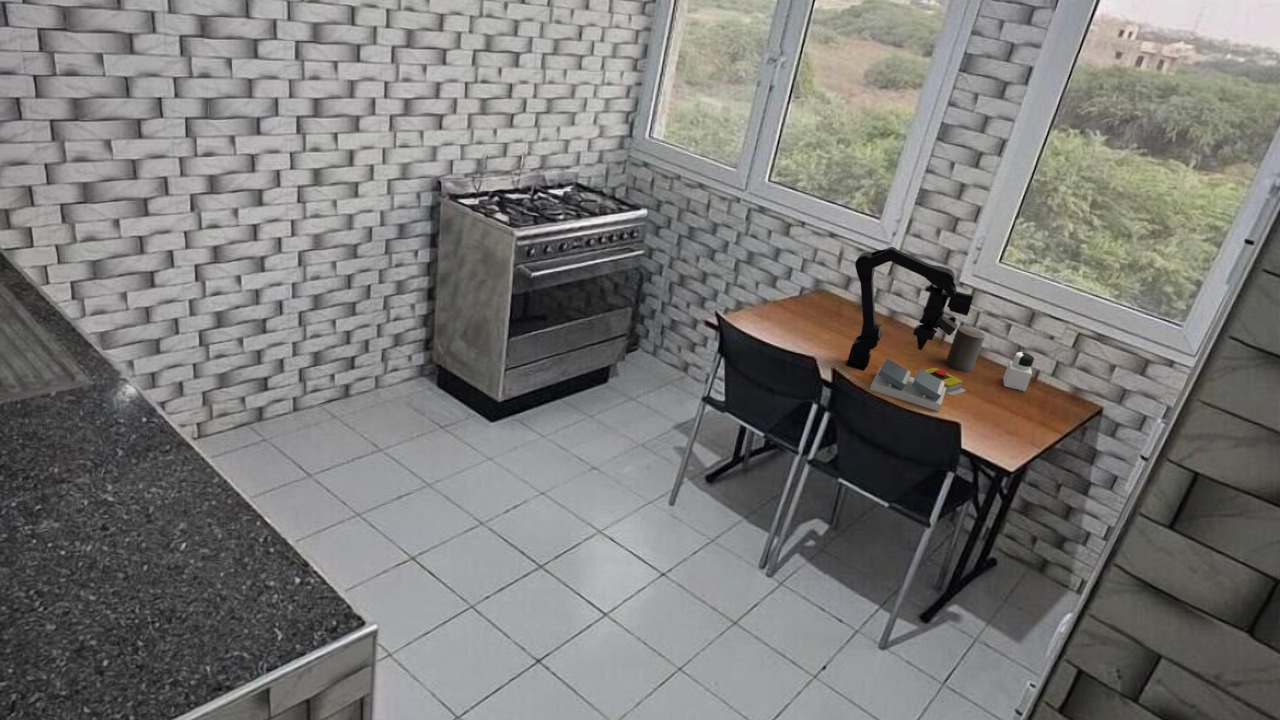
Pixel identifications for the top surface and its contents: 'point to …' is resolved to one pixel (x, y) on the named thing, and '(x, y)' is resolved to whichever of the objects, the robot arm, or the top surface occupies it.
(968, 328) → the pillar candle
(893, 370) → the block
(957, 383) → the emergency button
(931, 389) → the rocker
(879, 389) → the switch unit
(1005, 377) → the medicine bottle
